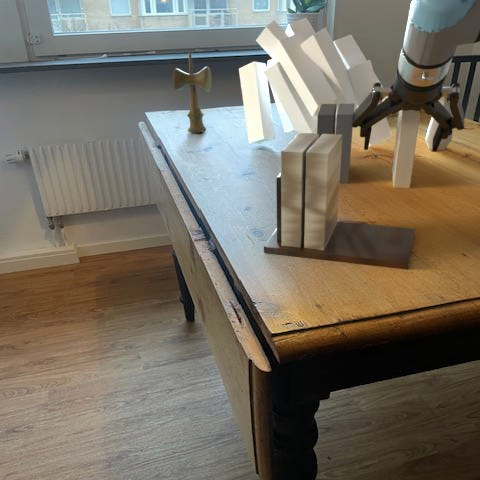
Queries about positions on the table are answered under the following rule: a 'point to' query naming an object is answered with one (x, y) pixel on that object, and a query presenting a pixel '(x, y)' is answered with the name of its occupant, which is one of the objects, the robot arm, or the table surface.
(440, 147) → the salt shaker
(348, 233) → the book board
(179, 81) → the kendama
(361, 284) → the table surface
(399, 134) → the white book
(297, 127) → the pile of blocks
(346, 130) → the grey books
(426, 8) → the robot arm
